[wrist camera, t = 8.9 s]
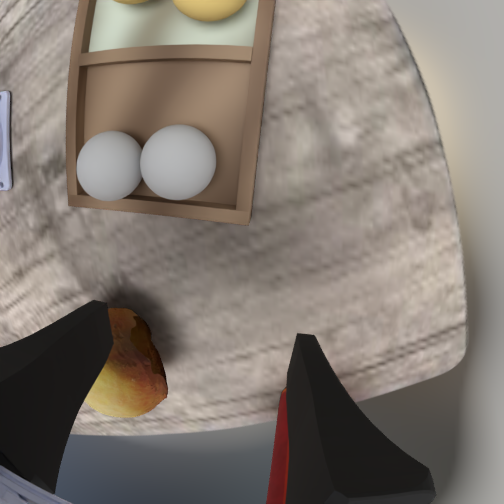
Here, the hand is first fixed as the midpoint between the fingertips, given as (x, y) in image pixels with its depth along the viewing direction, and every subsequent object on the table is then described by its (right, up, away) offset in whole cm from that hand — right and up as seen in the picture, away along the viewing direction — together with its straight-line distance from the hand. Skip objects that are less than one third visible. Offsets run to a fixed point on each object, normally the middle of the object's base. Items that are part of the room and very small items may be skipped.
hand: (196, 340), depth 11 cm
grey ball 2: (-1, +8, +6) cm, 11 cm away
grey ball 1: (-6, +9, +7) cm, 13 cm away
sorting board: (-3, +14, +5) cm, 15 cm away
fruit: (-7, -3, +13) cm, 15 cm away
